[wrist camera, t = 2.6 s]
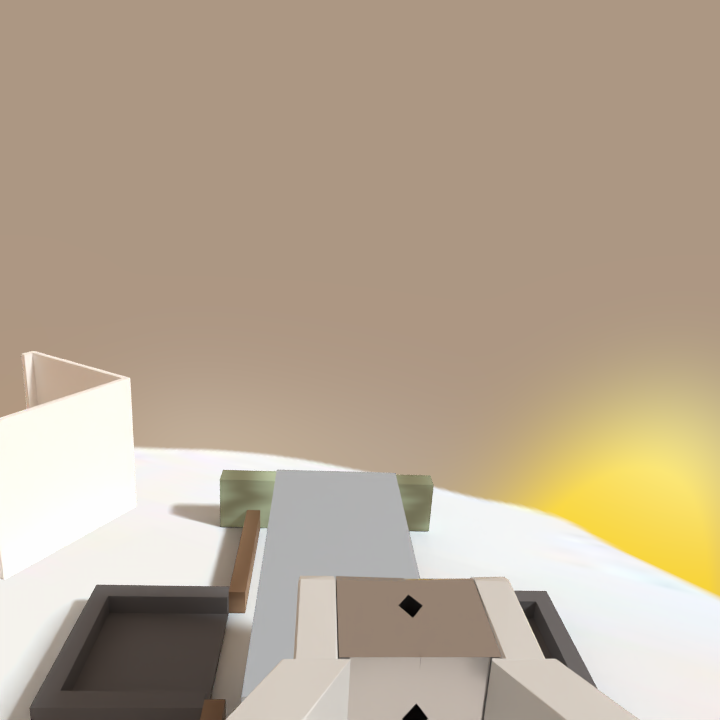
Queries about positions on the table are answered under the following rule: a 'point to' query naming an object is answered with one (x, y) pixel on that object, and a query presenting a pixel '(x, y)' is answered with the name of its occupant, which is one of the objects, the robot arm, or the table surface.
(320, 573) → the slate block
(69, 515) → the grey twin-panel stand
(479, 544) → the table surface
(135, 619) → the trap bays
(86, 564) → the table surface
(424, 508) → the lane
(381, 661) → the robot arm
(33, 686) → the table surface
